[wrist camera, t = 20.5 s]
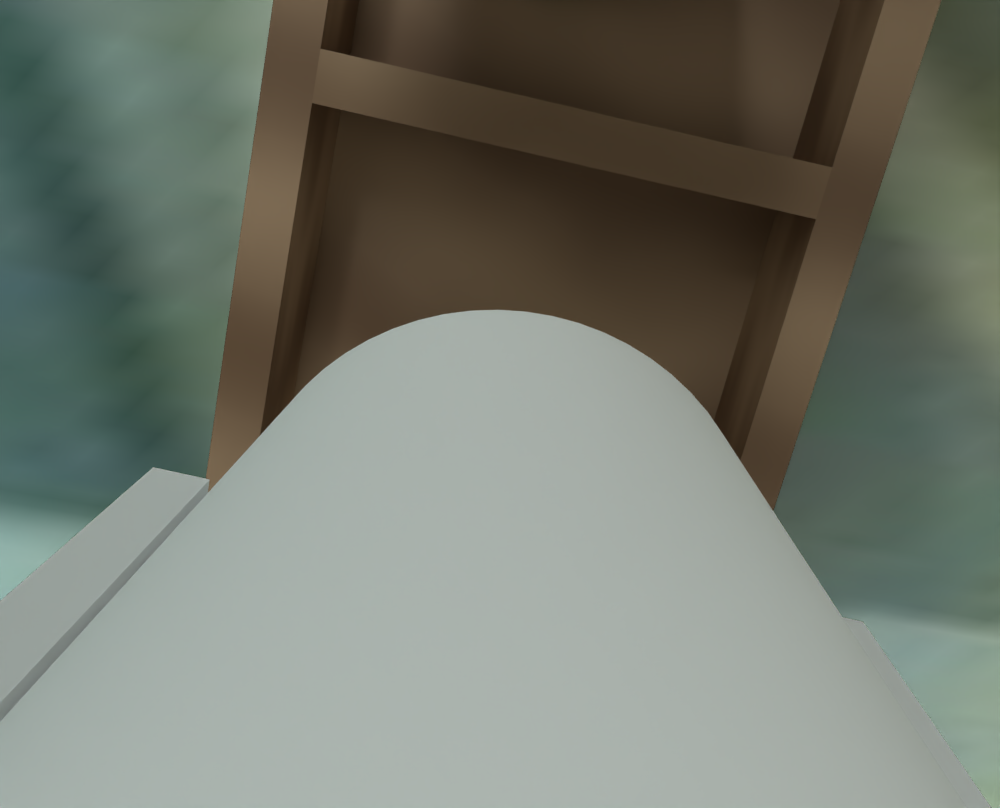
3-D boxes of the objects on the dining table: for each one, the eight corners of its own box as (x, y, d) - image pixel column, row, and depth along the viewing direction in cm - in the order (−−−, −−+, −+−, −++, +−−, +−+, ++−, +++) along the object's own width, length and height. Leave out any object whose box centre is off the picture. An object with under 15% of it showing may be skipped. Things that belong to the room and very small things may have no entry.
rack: (404, -537, 22) (372, -704, 17) (997, -387, 22) (1110, -513, 18) (239, 528, 29) (189, 596, 25) (682, 624, 30) (708, 707, 25)
